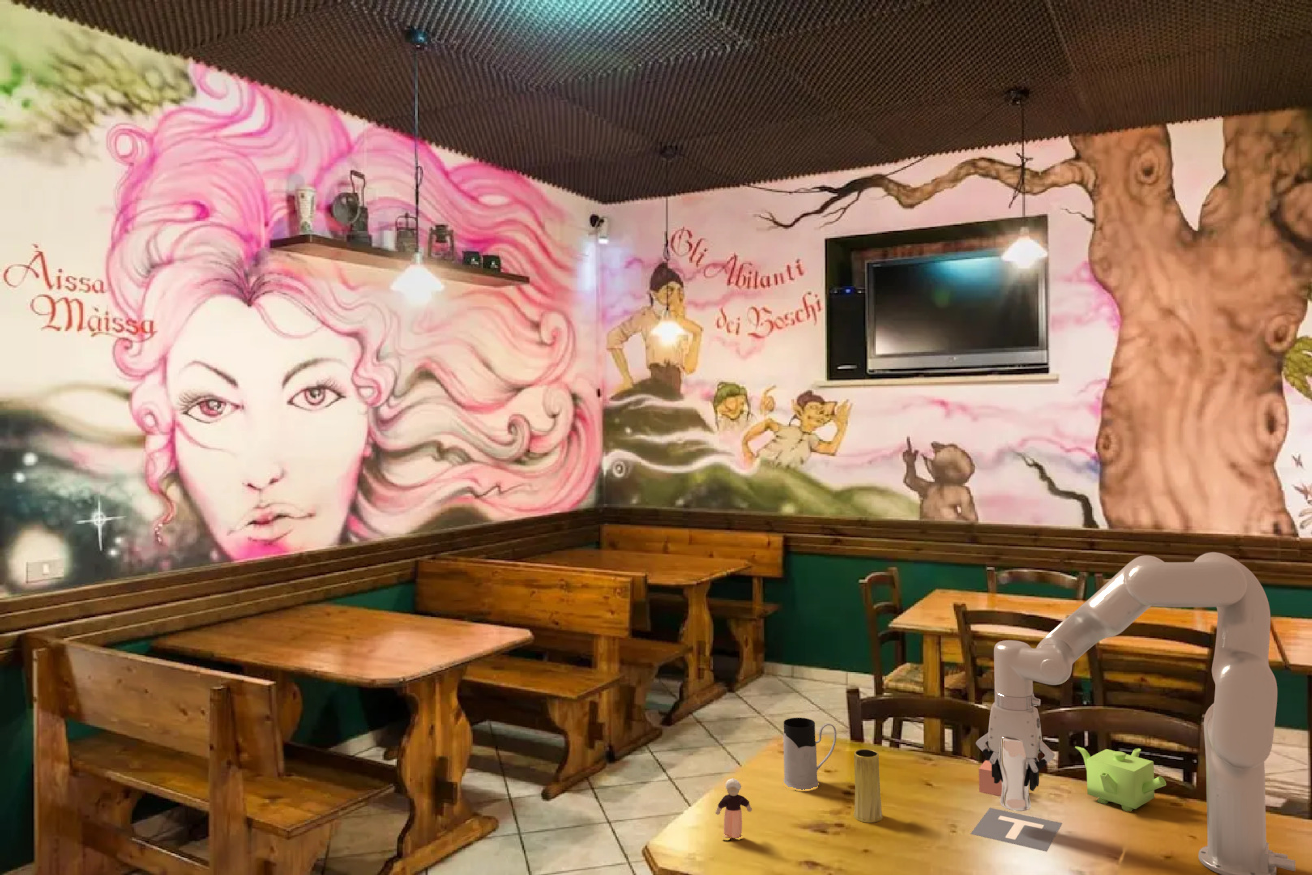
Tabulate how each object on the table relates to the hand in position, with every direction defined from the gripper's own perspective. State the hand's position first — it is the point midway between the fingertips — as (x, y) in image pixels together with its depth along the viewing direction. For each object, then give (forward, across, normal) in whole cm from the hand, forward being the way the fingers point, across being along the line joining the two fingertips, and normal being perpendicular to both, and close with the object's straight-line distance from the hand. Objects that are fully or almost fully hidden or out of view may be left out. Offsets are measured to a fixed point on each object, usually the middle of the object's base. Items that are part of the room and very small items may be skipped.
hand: (1015, 784), depth 192 cm
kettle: (+10, -16, -27) cm, 33 cm away
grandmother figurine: (+10, +49, +34) cm, 60 cm away
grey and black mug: (+10, +48, -1) cm, 49 cm away
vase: (+10, +29, +10) cm, 32 cm away
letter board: (+10, 0, 0) cm, 10 cm away
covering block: (+10, +9, -18) cm, 22 cm away
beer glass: (+5, 0, 0) cm, 5 cm away
